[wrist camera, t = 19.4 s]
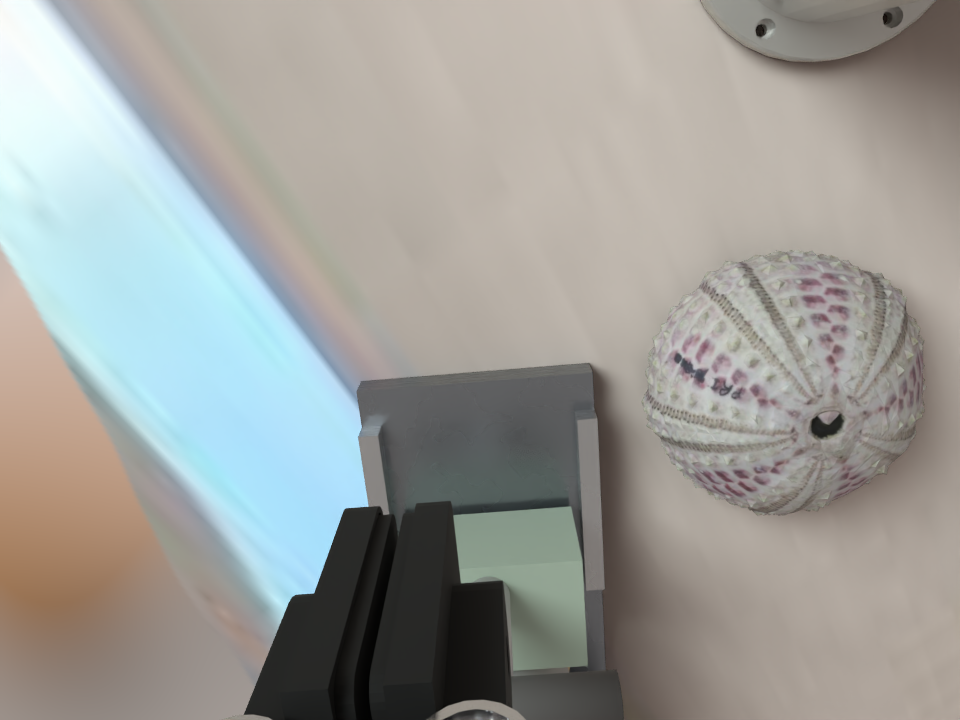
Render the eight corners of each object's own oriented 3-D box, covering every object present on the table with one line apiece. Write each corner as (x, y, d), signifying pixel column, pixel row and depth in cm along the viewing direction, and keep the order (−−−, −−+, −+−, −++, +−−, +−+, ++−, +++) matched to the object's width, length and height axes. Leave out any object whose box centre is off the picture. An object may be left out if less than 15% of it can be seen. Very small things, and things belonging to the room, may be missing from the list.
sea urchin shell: (701, 520, 42) (748, 611, 35) (588, 321, 39) (612, 373, 31) (928, 409, 40) (1032, 480, 32) (830, 186, 36) (920, 207, 29)
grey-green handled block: (580, 505, 40) (622, 685, 27) (585, 601, 42) (626, 809, 29) (392, 519, 40) (350, 702, 28) (406, 613, 42) (372, 824, 30)
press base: (588, 363, 39) (618, 438, 30) (606, 751, 47) (634, 902, 38) (361, 381, 40) (323, 461, 31) (417, 763, 48) (401, 915, 39)
